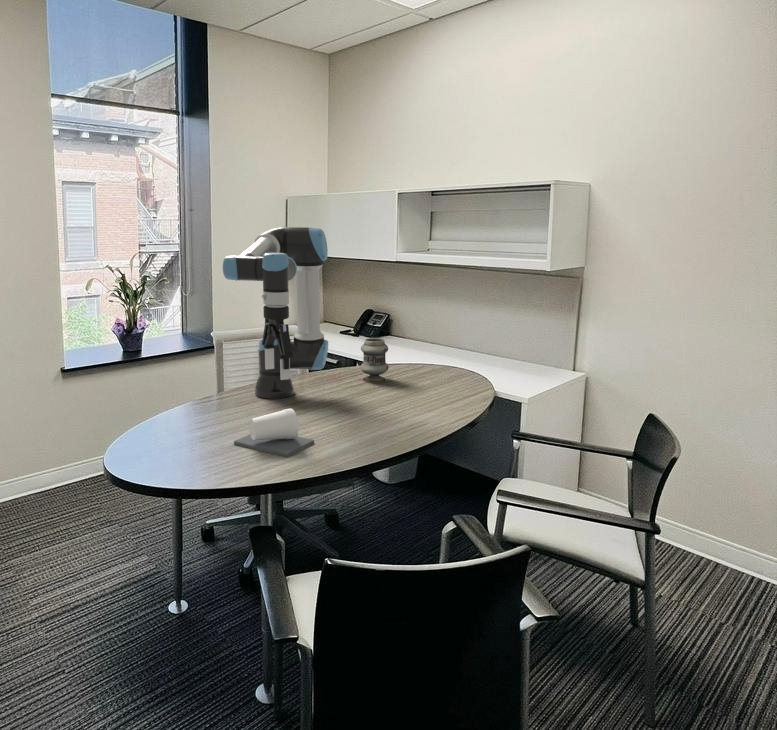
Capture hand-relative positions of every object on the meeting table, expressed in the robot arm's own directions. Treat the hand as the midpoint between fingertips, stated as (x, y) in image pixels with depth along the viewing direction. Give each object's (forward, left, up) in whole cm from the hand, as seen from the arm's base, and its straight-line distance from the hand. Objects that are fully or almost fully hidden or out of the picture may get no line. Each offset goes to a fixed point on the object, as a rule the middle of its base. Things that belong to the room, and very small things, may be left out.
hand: (277, 374), depth 197 cm
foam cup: (-3, -9, -16) cm, 18 cm away
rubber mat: (+1, -4, -21) cm, 22 cm away
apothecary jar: (-12, +82, -22) cm, 86 cm away
